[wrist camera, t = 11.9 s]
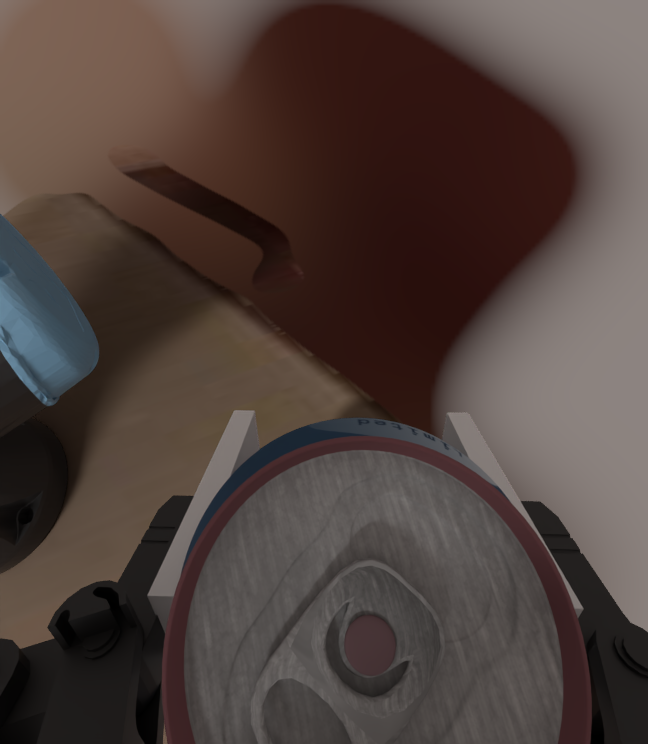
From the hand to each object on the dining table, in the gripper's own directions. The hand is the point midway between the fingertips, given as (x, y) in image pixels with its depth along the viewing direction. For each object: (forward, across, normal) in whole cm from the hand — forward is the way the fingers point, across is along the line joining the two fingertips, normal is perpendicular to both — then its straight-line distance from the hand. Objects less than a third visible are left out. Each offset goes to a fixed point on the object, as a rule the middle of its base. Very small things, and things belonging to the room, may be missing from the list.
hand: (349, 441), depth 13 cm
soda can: (+1, 0, -6) cm, 6 cm away
